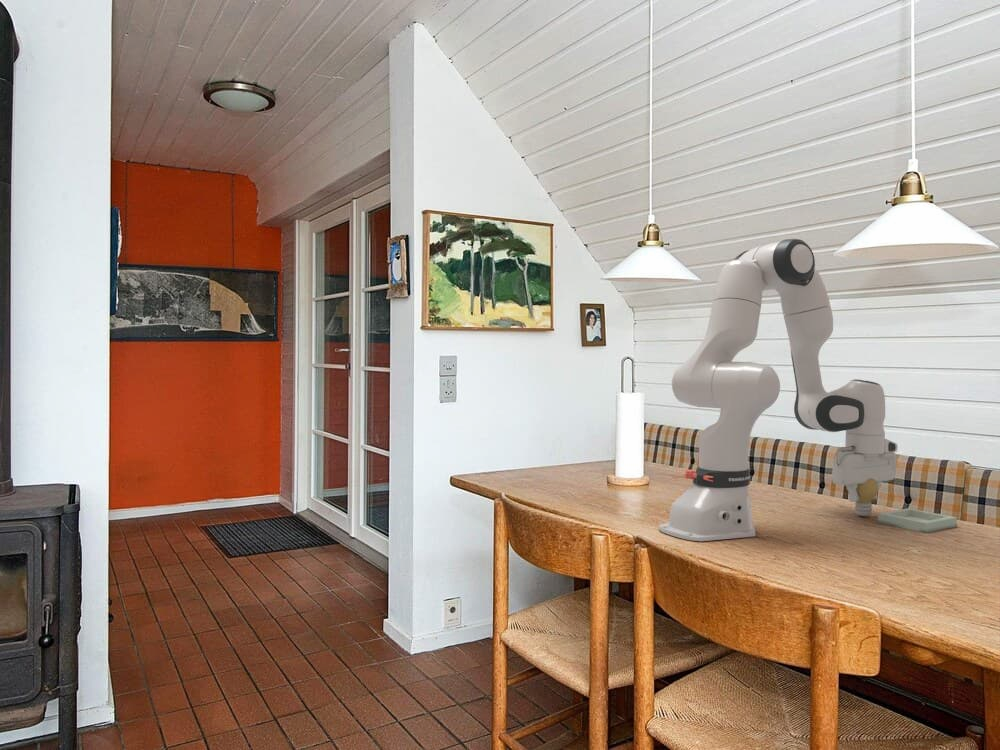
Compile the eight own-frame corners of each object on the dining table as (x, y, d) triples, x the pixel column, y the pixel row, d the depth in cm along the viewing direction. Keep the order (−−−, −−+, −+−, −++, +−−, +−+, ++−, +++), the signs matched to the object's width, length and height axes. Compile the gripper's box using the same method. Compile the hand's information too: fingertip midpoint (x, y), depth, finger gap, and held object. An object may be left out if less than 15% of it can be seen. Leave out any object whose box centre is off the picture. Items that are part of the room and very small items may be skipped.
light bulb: (848, 516, 192) (849, 476, 191) (850, 511, 197) (851, 472, 197) (876, 519, 189) (878, 478, 188) (878, 514, 194) (879, 474, 194)
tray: (926, 532, 176) (926, 523, 176) (877, 522, 187) (877, 513, 187) (956, 526, 182) (957, 517, 182) (908, 516, 192) (908, 508, 192)
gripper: (848, 448, 185) (847, 506, 185) (902, 444, 194) (900, 499, 195) (825, 445, 190) (824, 501, 191) (879, 441, 200) (877, 494, 200)
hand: (863, 500), depth 193 cm, fingers closed on light bulb, 5 cm apart
